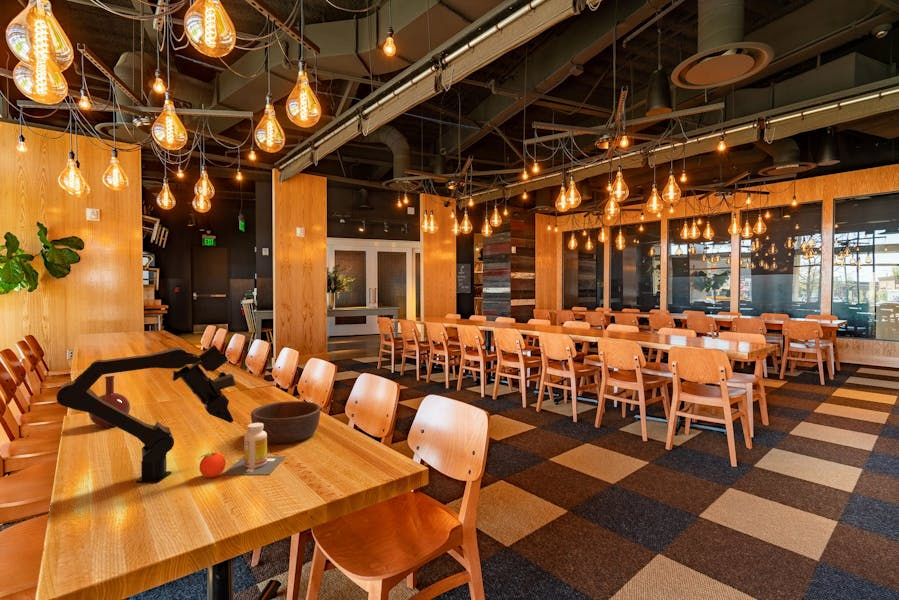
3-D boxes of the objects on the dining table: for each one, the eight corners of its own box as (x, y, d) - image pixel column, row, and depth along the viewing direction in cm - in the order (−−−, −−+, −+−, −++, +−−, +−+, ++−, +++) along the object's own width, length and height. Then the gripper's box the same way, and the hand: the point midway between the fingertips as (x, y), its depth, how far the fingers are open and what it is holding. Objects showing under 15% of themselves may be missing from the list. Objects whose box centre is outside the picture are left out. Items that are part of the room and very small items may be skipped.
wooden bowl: (262, 453, 147) (262, 423, 147) (243, 433, 166) (243, 407, 166) (331, 437, 163) (331, 411, 163) (306, 421, 182) (306, 397, 182)
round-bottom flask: (88, 425, 174) (87, 376, 173) (128, 419, 182) (128, 372, 182) (89, 433, 164) (88, 381, 163) (131, 426, 173) (131, 377, 172)
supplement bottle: (270, 460, 140) (270, 421, 140) (262, 469, 133) (262, 428, 133) (249, 460, 140) (249, 421, 139) (240, 469, 133) (240, 428, 133)
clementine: (192, 483, 124) (192, 459, 124) (198, 473, 130) (198, 450, 130) (222, 480, 126) (222, 456, 126) (227, 470, 133) (227, 447, 132)
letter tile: (269, 475, 130) (269, 474, 130) (222, 475, 129) (222, 474, 129) (285, 456, 144) (285, 456, 144) (243, 456, 143) (243, 456, 143)
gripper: (227, 369, 129) (258, 407, 135) (217, 361, 144) (245, 395, 150) (192, 394, 124) (225, 433, 129) (185, 382, 139) (216, 417, 144)
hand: (229, 418), depth 138 cm, fingers open, 9 cm apart
